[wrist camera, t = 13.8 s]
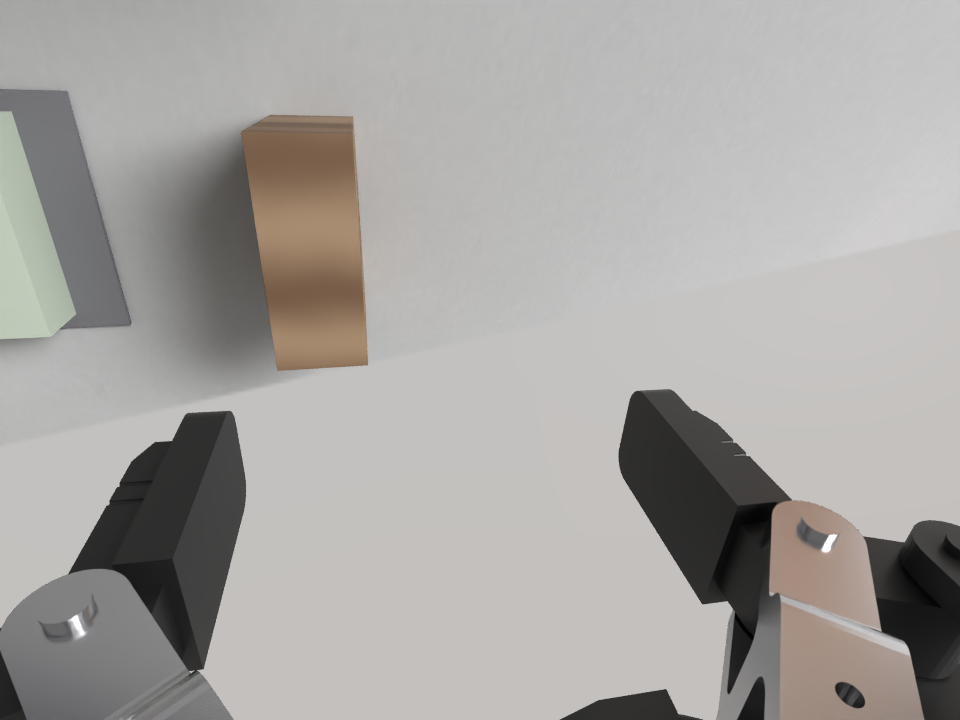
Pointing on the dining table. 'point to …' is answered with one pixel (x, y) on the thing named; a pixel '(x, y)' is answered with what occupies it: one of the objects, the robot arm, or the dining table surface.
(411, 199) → the dining table surface
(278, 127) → the box
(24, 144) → the mat
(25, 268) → the pale green block
